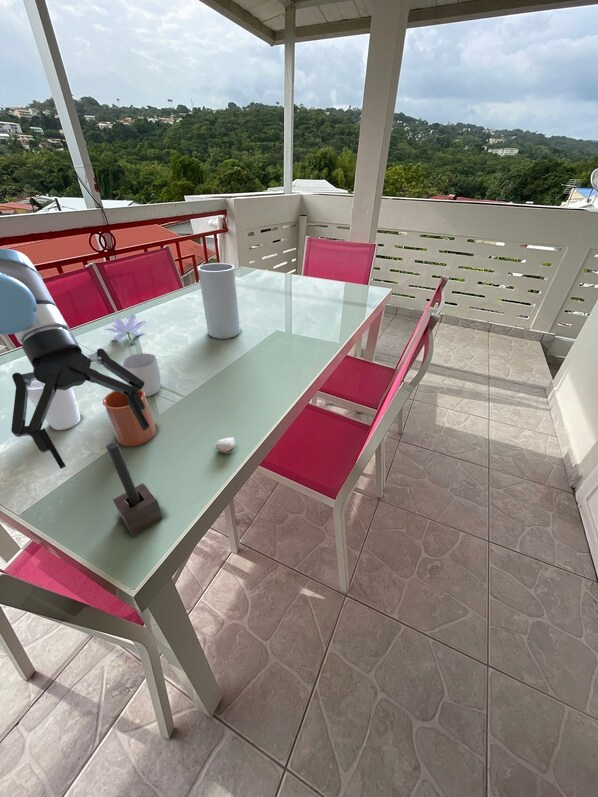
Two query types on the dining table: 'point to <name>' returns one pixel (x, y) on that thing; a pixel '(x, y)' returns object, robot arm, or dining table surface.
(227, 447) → the white seashell
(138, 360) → the mug
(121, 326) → the water lily
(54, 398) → the foam cup
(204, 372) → the dining table surface
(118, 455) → the rod
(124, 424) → the tumbler
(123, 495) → the holder
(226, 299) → the cylinder vase
